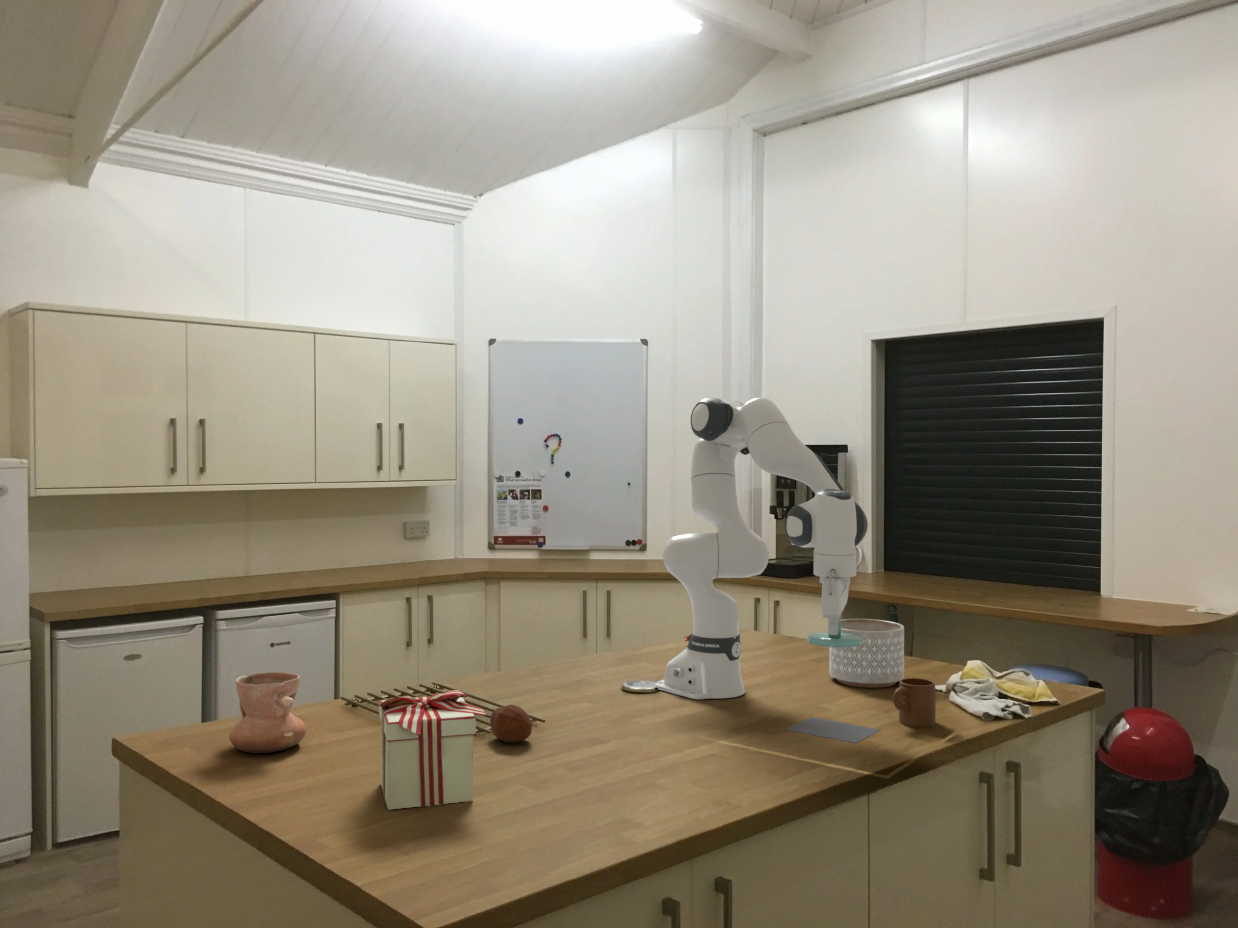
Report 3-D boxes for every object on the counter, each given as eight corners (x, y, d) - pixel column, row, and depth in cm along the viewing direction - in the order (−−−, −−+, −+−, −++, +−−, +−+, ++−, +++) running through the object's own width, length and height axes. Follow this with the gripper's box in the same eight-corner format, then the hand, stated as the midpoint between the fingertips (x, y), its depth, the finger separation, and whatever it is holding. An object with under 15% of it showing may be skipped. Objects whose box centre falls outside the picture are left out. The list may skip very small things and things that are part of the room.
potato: (509, 731, 209) (509, 696, 209) (544, 741, 202) (544, 705, 202) (478, 740, 203) (478, 704, 203) (513, 751, 196) (513, 713, 196)
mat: (785, 731, 209) (785, 729, 209) (811, 719, 218) (811, 716, 218) (856, 745, 199) (856, 742, 199) (880, 732, 208) (880, 729, 208)
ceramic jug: (323, 748, 198) (322, 676, 198) (254, 764, 187) (253, 689, 187) (278, 732, 210) (278, 665, 210) (211, 746, 200) (210, 676, 200)
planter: (912, 678, 258) (913, 622, 258) (891, 692, 242) (891, 634, 242) (843, 669, 268) (843, 616, 268) (818, 683, 252) (818, 626, 252)
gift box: (391, 820, 160) (391, 713, 159) (372, 784, 177) (371, 688, 176) (494, 805, 166) (493, 702, 166) (465, 772, 183) (465, 679, 183)
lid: (798, 639, 212) (798, 620, 211) (842, 635, 215) (842, 617, 215) (826, 648, 201) (826, 629, 201) (872, 644, 205) (872, 625, 205)
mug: (910, 736, 206) (910, 690, 206) (879, 728, 212) (879, 684, 211) (942, 725, 213) (942, 682, 213) (912, 718, 219) (912, 676, 219)
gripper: (846, 573, 197) (846, 642, 197) (853, 562, 217) (853, 625, 217) (814, 572, 199) (814, 641, 199) (824, 561, 219) (824, 623, 219)
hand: (834, 632), depth 208 cm, fingers closed on lid, 3 cm apart
